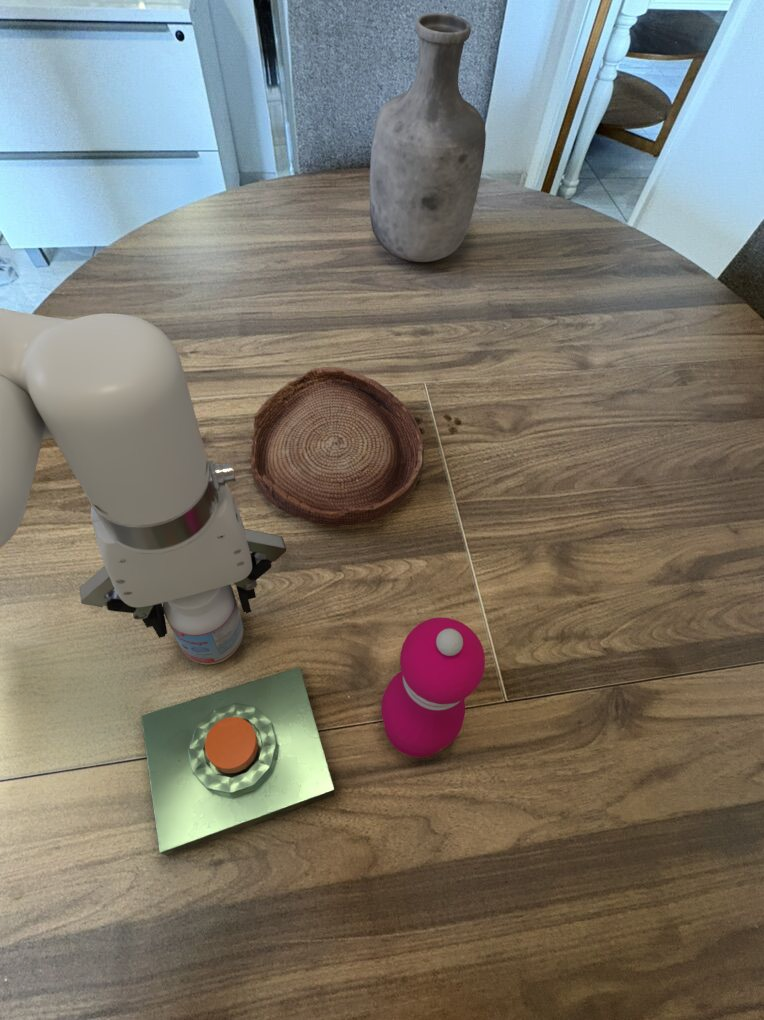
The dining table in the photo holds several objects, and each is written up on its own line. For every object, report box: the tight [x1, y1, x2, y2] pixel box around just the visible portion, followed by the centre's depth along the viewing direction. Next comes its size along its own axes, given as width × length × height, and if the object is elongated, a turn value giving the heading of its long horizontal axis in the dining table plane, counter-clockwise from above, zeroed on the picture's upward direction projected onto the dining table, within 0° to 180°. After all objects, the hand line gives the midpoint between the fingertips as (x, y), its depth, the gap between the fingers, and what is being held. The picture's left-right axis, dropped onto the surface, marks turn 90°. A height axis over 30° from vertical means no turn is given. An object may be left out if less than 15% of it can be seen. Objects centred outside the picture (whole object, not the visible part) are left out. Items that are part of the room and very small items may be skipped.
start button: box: [205, 717, 258, 773], centre depth 50 cm, size 4×4×2 cm
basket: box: [250, 366, 425, 528], centre depth 71 cm, size 22×20×5 cm
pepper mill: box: [380, 616, 486, 759], centre depth 48 cm, size 7×7×20 cm
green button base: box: [140, 666, 336, 857], centre depth 52 cm, size 14×11×4 cm
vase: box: [369, 12, 487, 263], centre depth 87 cm, size 16×16×30 cm
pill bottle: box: [162, 584, 244, 665], centre depth 55 cm, size 6×6×11 cm
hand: (203, 609), depth 55 cm, fingers open, 6 cm apart
